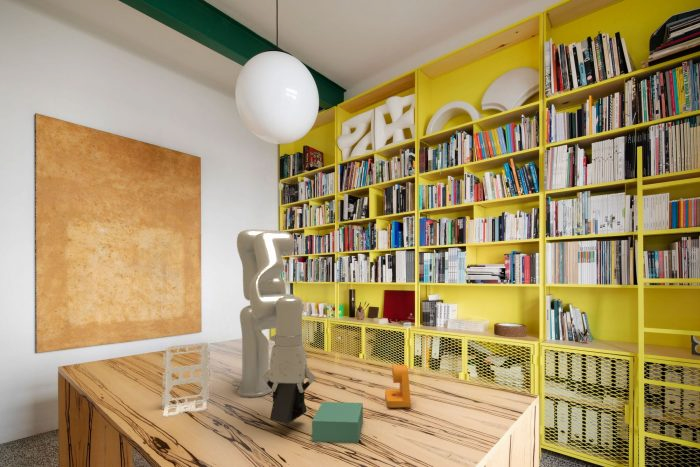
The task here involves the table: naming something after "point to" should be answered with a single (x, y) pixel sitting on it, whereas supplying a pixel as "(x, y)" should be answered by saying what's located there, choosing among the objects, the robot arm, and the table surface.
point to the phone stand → (286, 404)
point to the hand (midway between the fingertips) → (288, 404)
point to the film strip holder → (185, 381)
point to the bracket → (399, 395)
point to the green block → (338, 422)
